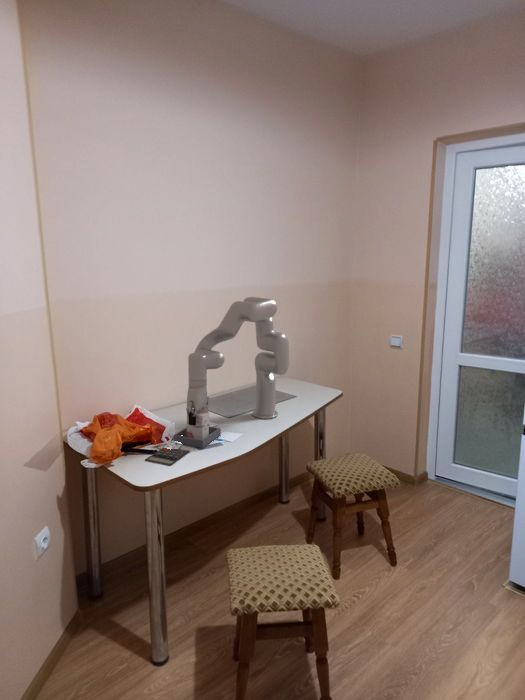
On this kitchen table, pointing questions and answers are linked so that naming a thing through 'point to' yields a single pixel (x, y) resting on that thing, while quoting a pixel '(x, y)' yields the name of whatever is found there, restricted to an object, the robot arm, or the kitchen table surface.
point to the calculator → (167, 456)
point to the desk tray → (197, 443)
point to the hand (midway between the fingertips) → (198, 421)
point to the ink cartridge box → (199, 424)
